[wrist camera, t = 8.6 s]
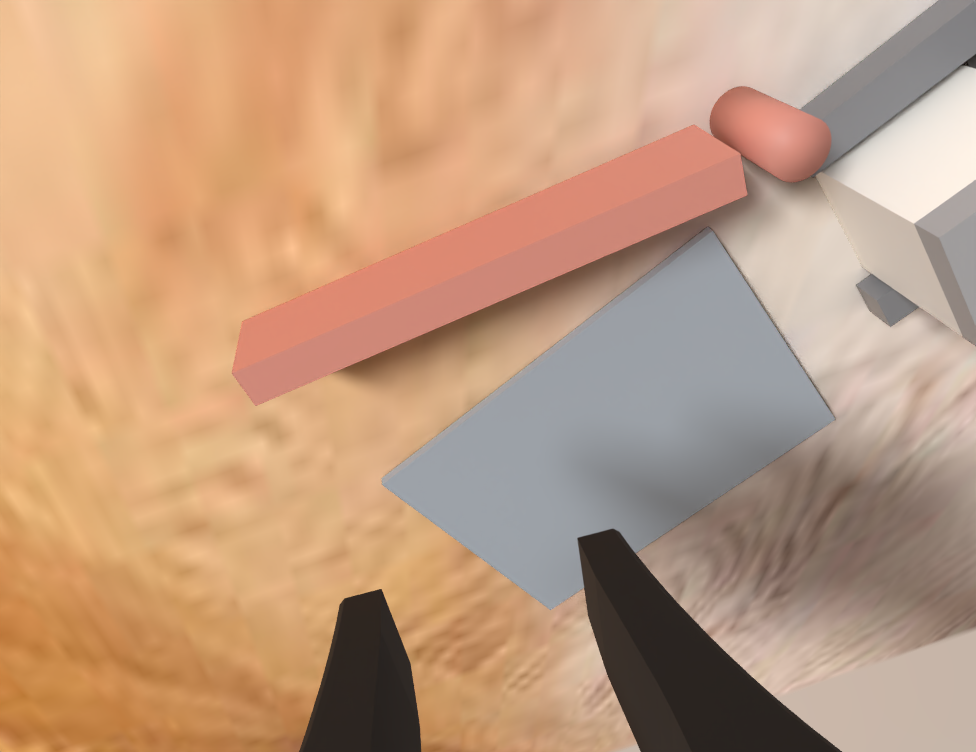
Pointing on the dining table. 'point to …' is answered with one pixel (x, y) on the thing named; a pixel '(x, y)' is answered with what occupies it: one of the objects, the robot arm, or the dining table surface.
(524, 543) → the slate mat
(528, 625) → the dining table surface
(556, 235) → the pink flat bar
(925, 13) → the bracket
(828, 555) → the dining table surface
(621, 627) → the robot arm
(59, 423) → the dining table surface
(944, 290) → the plug
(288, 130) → the dining table surface
